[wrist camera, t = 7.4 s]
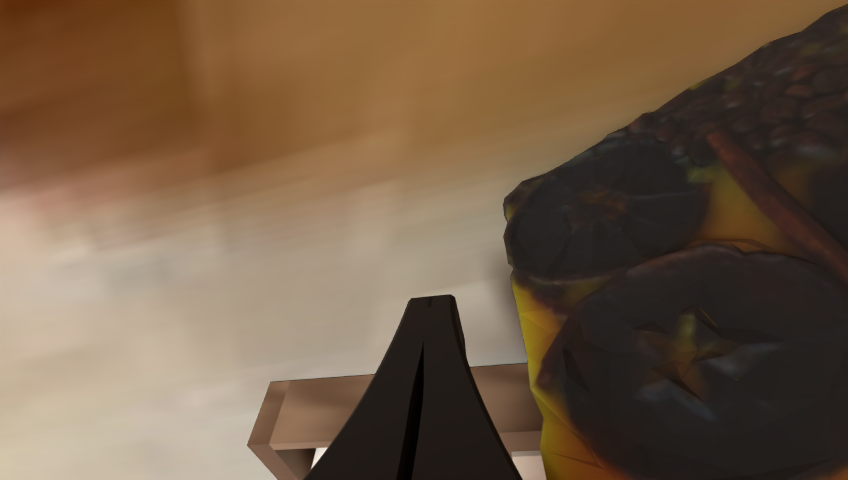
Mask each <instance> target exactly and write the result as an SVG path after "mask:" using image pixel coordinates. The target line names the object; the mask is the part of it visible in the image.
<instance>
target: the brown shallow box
mask: <svg viewBox="0 0 848 480" xmlns="http://www.w3.org/2000/svg"><path fill="white" fill-rule="evenodd" d="M470 370H471V372H472V375H473V378H474V380H475V383H476V385H477V388H478V390H479V393H480V395H481V397H482V400H483V402H484V404H485V406H486V409H487V411H488V413H489V415H490V417H491V419H492V421H493V424H494V426H495V428H496V430H497V432H498V434H499V436H500V438H501V440H502V442H503V444H504V446H505V448H506V449H507V451H508V453H509V455H510V457H511V459H512V460H513V462H514V464H515V466H516V468H517V470H518V471H519V473H520V475H521V477H522V479H523V480H546V475H545V471H544V466H543V461H542V456H541V452H540V447H539V446H540V438H541V430H542V423H543V415H542V413H541V411H540V409H539V407H538V405H537V403H536V400H535V398H534V396H533V394H532V392H531V390H530V382H529V371H528V363H524V364H510V365H497V366H483V367H470ZM373 377H374V375H362V376H349V377H335V378H322V379H309V380H295V381H282V382H270V385H269V387H268V390H267V393H266V395H265V398H264V401H263V403H262V406H261V409H260V412H259V414H258V417H257V420H256V422H255V425H254V428H253V430H252V433H251V436H250V438H249V441H248V444H247V446H248V447H249V448H250V449H251V450H252V451H253V453H254V454H255V455H256V456H257V457H258V458H259V459H260V460H261V461H262V463H263V464H264V465H265V466H266V467H267V468H268V469H269V470H270V471H271V473H272V474H273V475H274V476H275V477H276V478H277V479H278V480H303V478H304V477H305V476H306V475H307V474H308V472H309V471H310V470H311V468H312V464H313V460H314V456H315V452H316V448H328V447H329V445H330V444H331V443H332V441H333V440H334V438H335V437H336V436H337V434H338V433H339V432H340V430H341V429H342V427H343V426H344V424H345V423H346V421H347V420H348V418H349V417H350V415H351V414H352V412H353V411H354V409H355V408H356V406H357V404H358V403H359V401H360V399H361V398H362V396H363V394H364V393H365V391H366V389H367V387H368V386H369V384H370V382H371V380H372V379H373Z"/></svg>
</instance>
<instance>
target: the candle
mask: <svg viewBox="0 0 848 480" xmlns="http://www.w3.org/2000/svg"><path fill="white" fill-rule="evenodd" d="M503 207H504V216H505V218H506V220H507V226H506V230H505V233H504V236H503V237H504V242H505V247H506V252H507V258H508V264H510V265H511V266H512V267H513V271H512V274H511V276H510V278H511V285H512V290H513V293H514V297H515V300H516V305H517V310H518V316H519V321H520V326H521V331H522V335H523V340H524V344H525V348H526V352H527V360H528V371H529V382H530V390H531V392H532V394H533V396H534V398H535V400H536V403H537V405H538V407H539V409H540V411H541V413H542V415H543V423H542V430H541V438H540V446H539V447H540V452H541V456H542V461H543V466H544V471H545V475H546V480H848V4H847V5H844V6H842V7H839V8H837V9H835V10H833V11H830V12H828V13H826V14H825V15H823V16H822V17H821V18H819V19H818V20H817V21H815V22H814V23H812V24H811V25H810V26H808V27H807V28H806V29H804V30H803V31H801V32H798V33H795V34H792V35H789V36H786V37H783V38H780V39H777V40H774V41H772V42H769V43H767V44H765V45H764V46H762V47H761V48H759V49H758V50H756V51H755V52H753V53H752V54H750V55H749V56H747V57H746V58H744V59H743V60H741V61H740V62H738V63H737V64H735V65H733V66H731V67H730V68H728V69H726V70H724V71H722V72H720V73H718V74H716V75H714V76H712V77H709V78H707V79H705V80H703V81H701V82H699V83H697V84H695V85H693V86H691V87H689V88H688V89H686V90H685V91H683V92H682V93H680V94H679V95H678V96H676V97H675V98H673V99H672V100H670V101H669V102H667V103H666V104H664V105H663V106H662V107H660V108H659V109H657V110H656V111H655V112H651V113H644V114H642V115H641V116H640V117H638V118H637V119H636V120H634V121H633V122H632V123H630V124H629V125H628V126H626V127H624V128H622V129H619V130H617V131H615V132H613V133H610V134H608V135H607V136H606V137H605V138H604V139H603V140H602V141H601V142H599V143H597V144H596V145H594V146H592V147H591V148H589V149H587V150H586V151H584V152H582V153H581V154H579V155H577V156H576V157H574V158H573V159H571V160H570V161H568V162H566V163H564V164H562V165H561V166H559V167H557V168H555V169H553V170H551V171H549V172H547V173H546V174H543V175H540V176H537V177H534V178H531V179H528V180H525V181H522V182H521V183H520V184H519V185H518V186H517V187H516V188H515V190H513V191H512V192H511V193H510V194H509V195H508V196H506V197H505V199H504V203H503Z"/></svg>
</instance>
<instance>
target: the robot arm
mask: <svg viewBox="0 0 848 480" xmlns="http://www.w3.org/2000/svg"><path fill="white" fill-rule="evenodd" d="M303 480H523V479H522V477H521V475H520V473H519V471H518V470H517V468H516V466H515V464H514V462H513V460H512V459H511V457H510V455H509V453H508V451H507V449H506V448H505V446H504V444H503V442H502V440H501V438H500V436H499V434H498V432H497V430H496V428H495V426H494V424H493V421H492V419H491V417H490V415H489V413H488V411H487V409H486V406H485V404H484V402H483V400H482V397H481V395H480V393H479V390H478V388H477V385H476V383H475V380H474V378H473V375H472V372H471V370H470V367H469V364H468V361H467V358H466V350H465V339H464V335H463V331H462V326H461V322H460V317H459V313H458V309H457V304H456V300H455V297H454V296H452V295H450V294H449V295H439V296H429V297H420V298H411V299H410V300H409V302H408V304H407V307H406V309H405V312H404V314H403V317H402V319H401V322H400V324H399V326H398V329H397V331H396V333H395V335H394V338H393V340H392V342H391V344H390V346H389V348H388V350H387V352H386V354H385V356H384V358H383V360H382V362H381V364H380V366H379V368H378V370H377V372H376V373H375V375H374V377H373V379H372V380H371V382H370V384H369V386H368V387H367V389H366V391H365V393H364V394H363V396H362V398H361V399H360V401H359V403H358V404H357V406H356V408H355V409H354V411H353V412H352V414H351V415H350V417H349V418H348V420H347V421H346V423H345V424H344V426H343V427H342V429H341V430H340V432H339V433H338V434H337V436H336V437H335V438H334V440H333V441H332V443H331V444H330V445H329V447H328V448H327V449H326V451H325V452H324V453H323V455H322V456H321V457H320V459H319V460H318V461H317V463H316V464H315V465H314V466H313V468H312V469H311V470H310V471H309V472H308V474H307V475H306V476H305V477H304V478H303Z"/></svg>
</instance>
